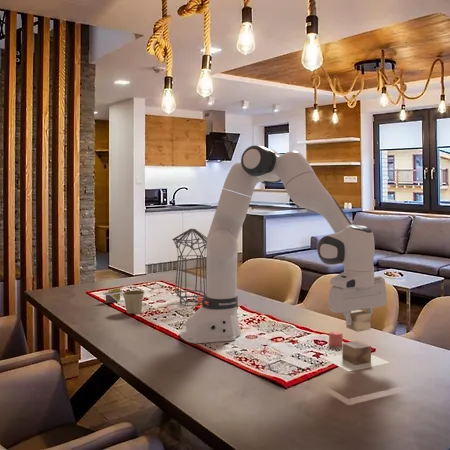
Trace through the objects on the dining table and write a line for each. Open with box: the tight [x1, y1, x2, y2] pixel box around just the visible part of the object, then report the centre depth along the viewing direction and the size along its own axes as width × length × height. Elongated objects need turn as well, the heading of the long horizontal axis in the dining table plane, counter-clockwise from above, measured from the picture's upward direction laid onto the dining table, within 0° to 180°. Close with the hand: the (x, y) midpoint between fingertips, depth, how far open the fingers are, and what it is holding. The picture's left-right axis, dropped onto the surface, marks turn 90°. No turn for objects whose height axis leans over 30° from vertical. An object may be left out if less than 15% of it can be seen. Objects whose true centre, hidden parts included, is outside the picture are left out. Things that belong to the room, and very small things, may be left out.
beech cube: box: [345, 309, 372, 333], centre depth 150 cm, size 5×5×5 cm
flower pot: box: [121, 289, 145, 315], centre depth 211 cm, size 9×9×9 cm
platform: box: [102, 287, 124, 304], centre depth 230 cm, size 12×18×7 cm, turn 138°
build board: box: [323, 353, 391, 373], centre depth 151 cm, size 16×12×1 cm
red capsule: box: [328, 331, 343, 348], centre depth 166 cm, size 4×4×5 cm
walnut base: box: [341, 340, 372, 365], centre depth 150 cm, size 6×6×5 cm
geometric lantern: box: [172, 228, 208, 307], centre depth 226 cm, size 16×16×35 cm
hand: (358, 323), depth 150 cm, fingers closed on beech cube, 5 cm apart
